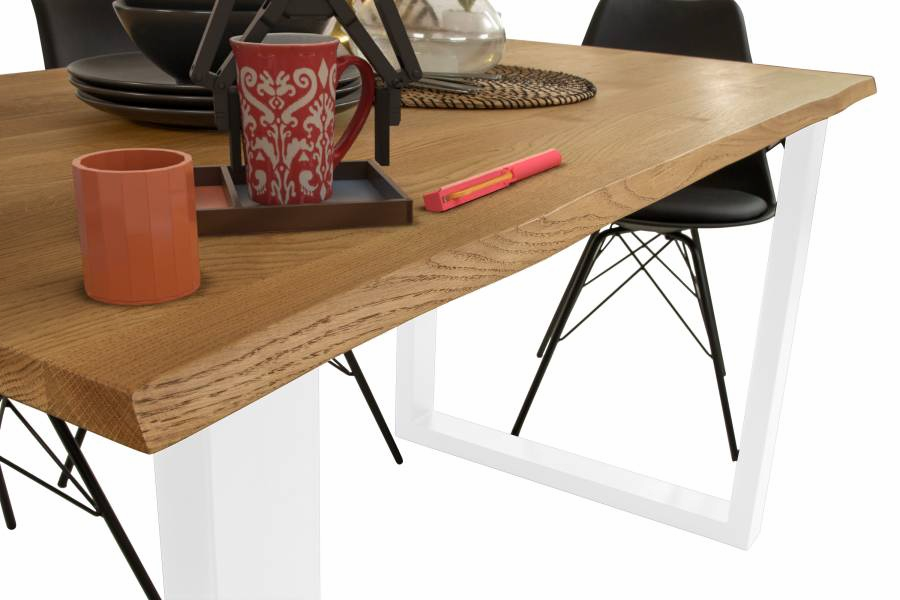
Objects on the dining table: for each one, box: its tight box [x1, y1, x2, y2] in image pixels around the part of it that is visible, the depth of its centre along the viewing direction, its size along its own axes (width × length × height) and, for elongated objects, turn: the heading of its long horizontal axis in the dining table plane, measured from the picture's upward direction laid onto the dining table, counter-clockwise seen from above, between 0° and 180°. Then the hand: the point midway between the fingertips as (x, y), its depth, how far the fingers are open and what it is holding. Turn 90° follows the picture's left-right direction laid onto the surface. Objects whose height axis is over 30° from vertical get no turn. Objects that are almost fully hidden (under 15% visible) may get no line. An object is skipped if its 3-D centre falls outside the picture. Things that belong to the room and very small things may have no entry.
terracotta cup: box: [71, 147, 201, 306], centre depth 66 cm, size 7×7×9 cm
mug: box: [228, 32, 376, 205], centre depth 86 cm, size 13×9×14 cm
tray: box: [193, 158, 414, 238], centre depth 87 cm, size 25×16×2 cm, turn 106°
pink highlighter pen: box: [422, 147, 563, 213], centre depth 97 cm, size 24×2×5 cm
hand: (310, 166), depth 88 cm, fingers closed on mug, 12 cm apart
